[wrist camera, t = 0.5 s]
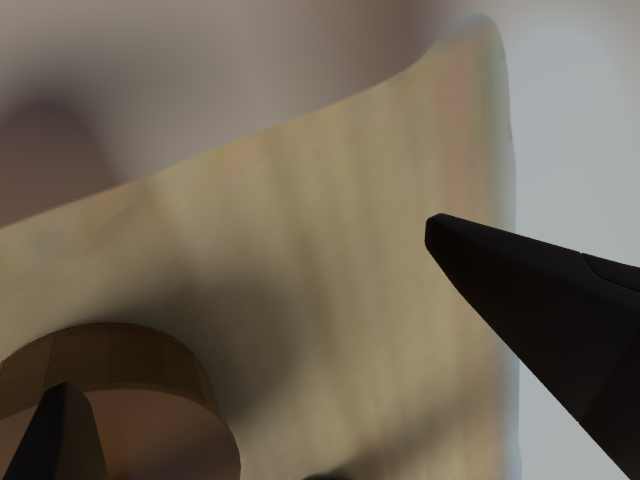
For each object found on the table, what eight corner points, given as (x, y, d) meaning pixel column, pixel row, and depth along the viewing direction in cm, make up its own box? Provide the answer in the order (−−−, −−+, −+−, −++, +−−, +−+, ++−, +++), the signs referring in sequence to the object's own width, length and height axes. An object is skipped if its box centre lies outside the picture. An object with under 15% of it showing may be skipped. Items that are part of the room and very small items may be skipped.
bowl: (239, 423, 31) (265, 496, 26) (56, 536, 28) (42, 646, 23) (149, 282, 25) (158, 340, 20) (-101, 408, 22) (-174, 518, 16)
